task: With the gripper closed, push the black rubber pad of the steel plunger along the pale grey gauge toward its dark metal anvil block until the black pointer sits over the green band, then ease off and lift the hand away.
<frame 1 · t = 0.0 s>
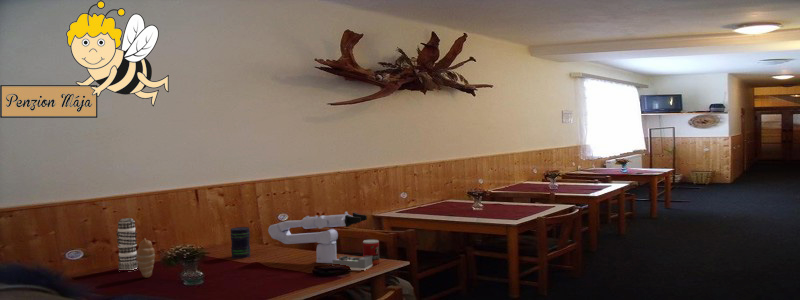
hand: (363, 218, 288), 22 cm above the table, tool horizontal, fingers open, 7 cm apart
decorative candle: (128, 270, 290), on the table
gauge housing: (352, 267, 280), on the table
canned food: (371, 263, 288), on the table
tan ridged cocoon: (146, 278, 272), on the table
plunger: (346, 260, 280), point 3 cm above the table, slide at 0.0 cm
storage jar: (241, 257, 315), on the table
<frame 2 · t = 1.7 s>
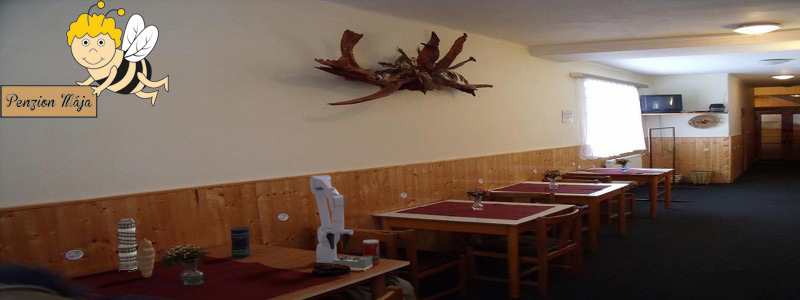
hand: (338, 249, 282), 8 cm above the table, tool pointing down, fingers open, 6 cm apart
nothing on the table moved.
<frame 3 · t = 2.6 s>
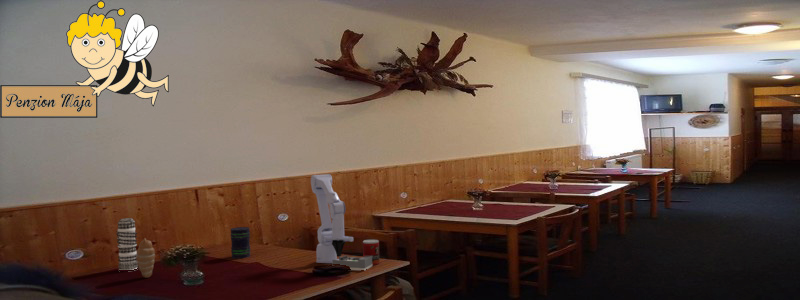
hand: (339, 256, 282), 5 cm above the table, tool pointing down, fingers closed
nothing on the table moved.
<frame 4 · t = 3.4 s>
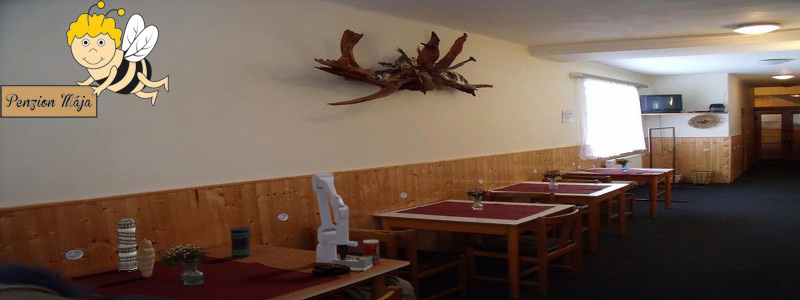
hand: (343, 260, 281), 3 cm above the table, tool pointing down, fingers closed
plunger: (349, 260, 280), point 3 cm above the table, slide at 1.4 cm, touching gripper
everything else where it was.
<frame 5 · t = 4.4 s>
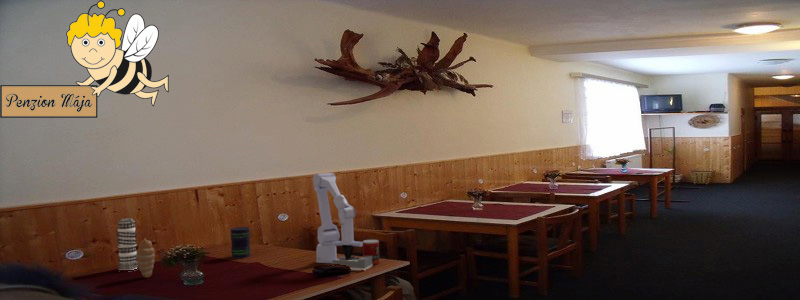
hand: (348, 261, 281), 3 cm above the table, tool pointing down, fingers closed
plunger: (354, 261, 279), point 3 cm above the table, slide at 4.0 cm, touching gripper
everything else where it was.
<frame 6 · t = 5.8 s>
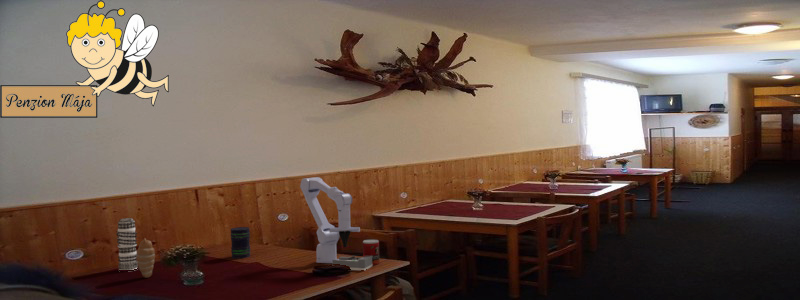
hand: (345, 246, 287), 9 cm above the table, tool pointing down, fingers closed
plunger: (354, 261, 279), point 3 cm above the table, slide at 4.0 cm
everything else where it was.
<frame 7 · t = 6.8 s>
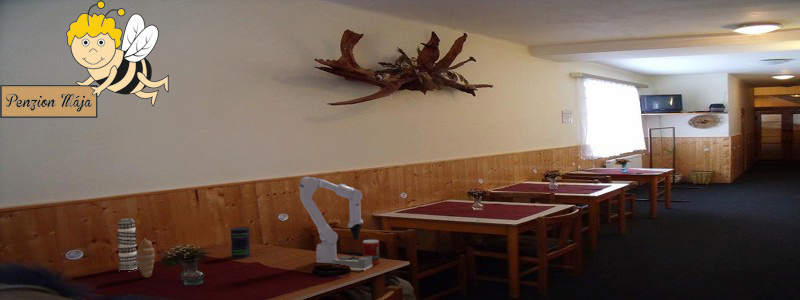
hand: (356, 239, 302), 9 cm above the table, tool pointing down, fingers closed
nothing on the table moved.
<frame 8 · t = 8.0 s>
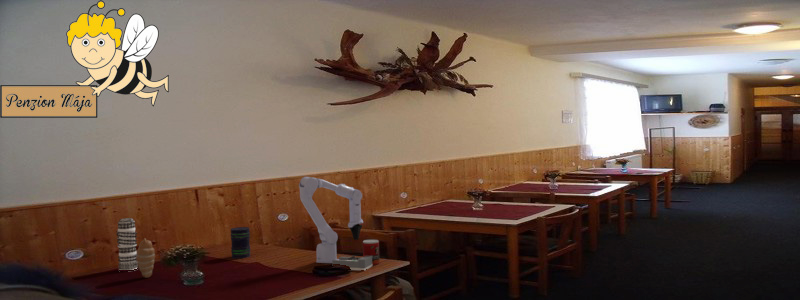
hand: (356, 239, 302), 9 cm above the table, tool pointing down, fingers closed
nothing on the table moved.
at the end: plunger slide at 4.0 cm; canned food moved 0.2 cm from its start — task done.
